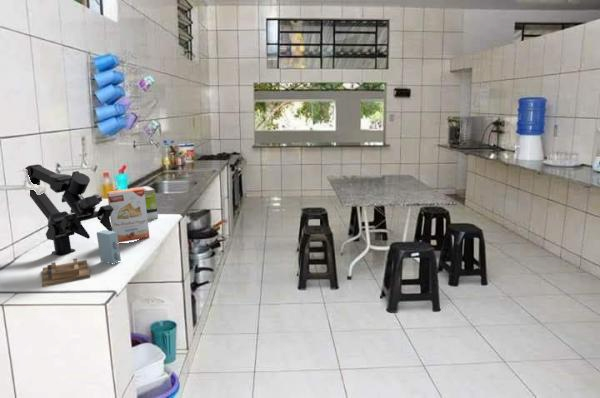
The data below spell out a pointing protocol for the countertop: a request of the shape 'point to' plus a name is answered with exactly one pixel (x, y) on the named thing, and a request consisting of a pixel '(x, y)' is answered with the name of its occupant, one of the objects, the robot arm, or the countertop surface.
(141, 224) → the cracker box
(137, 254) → the countertop surface
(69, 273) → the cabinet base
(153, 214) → the tea box
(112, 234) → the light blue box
